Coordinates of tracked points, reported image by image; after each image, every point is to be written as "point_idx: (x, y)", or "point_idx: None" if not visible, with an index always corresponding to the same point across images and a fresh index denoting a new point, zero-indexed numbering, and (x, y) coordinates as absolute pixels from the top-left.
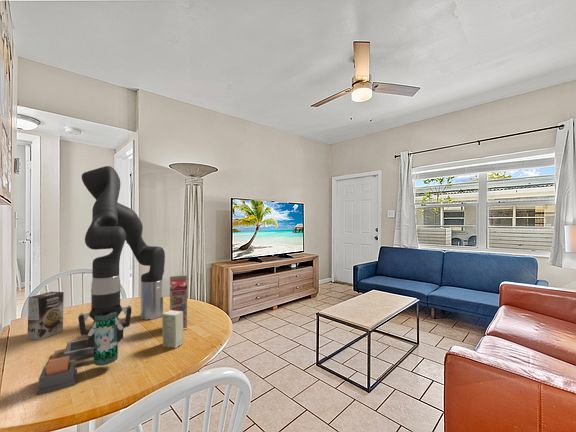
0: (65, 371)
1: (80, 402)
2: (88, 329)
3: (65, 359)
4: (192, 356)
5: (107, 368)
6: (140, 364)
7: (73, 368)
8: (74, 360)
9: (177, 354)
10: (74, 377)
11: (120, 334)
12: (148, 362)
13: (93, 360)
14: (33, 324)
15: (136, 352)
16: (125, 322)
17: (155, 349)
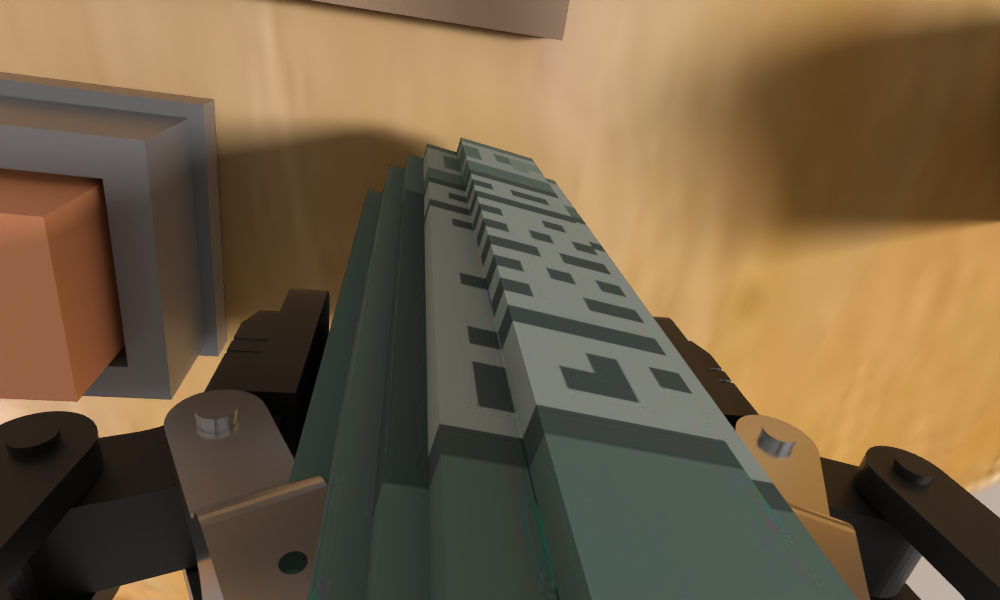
0: (102, 379)
1: None
2: (151, 490)
3: (20, 300)
4: (988, 411)
5: None
6: (694, 314)
7: (167, 352)
8: (137, 169)
9: (955, 324)
10: (207, 291)
11: None
12: (749, 319)
13: (356, 6)
14: None
15: (768, 42)
16: (867, 552)
17: (916, 105)
